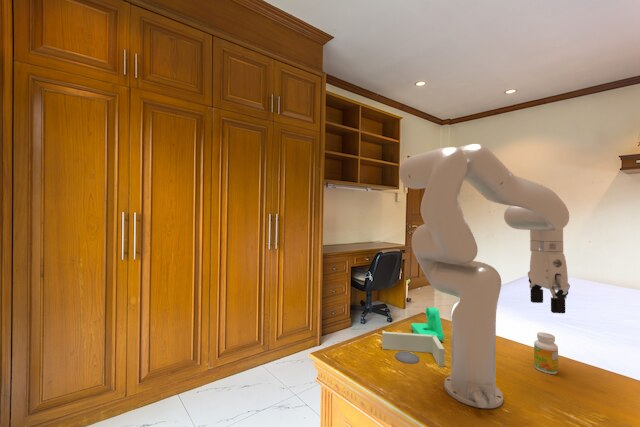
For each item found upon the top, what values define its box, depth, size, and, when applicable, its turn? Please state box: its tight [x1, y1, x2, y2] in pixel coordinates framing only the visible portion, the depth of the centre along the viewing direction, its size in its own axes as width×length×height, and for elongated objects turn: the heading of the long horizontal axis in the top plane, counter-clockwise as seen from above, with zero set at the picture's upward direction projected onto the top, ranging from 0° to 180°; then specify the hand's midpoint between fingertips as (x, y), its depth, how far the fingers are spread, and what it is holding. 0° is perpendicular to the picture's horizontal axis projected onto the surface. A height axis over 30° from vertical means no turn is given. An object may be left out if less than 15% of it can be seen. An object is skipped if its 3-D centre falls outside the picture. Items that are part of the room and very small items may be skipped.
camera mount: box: [410, 306, 445, 341], centre depth 107 cm, size 12×8×10 cm, turn 0°
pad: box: [394, 351, 420, 365], centre depth 89 cm, size 7×7×1 cm
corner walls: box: [381, 330, 446, 368], centre depth 90 cm, size 10×17×5 cm, turn 82°
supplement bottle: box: [533, 331, 559, 375], centre depth 84 cm, size 5×5×10 cm
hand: (546, 307), depth 84 cm, fingers open, 9 cm apart
